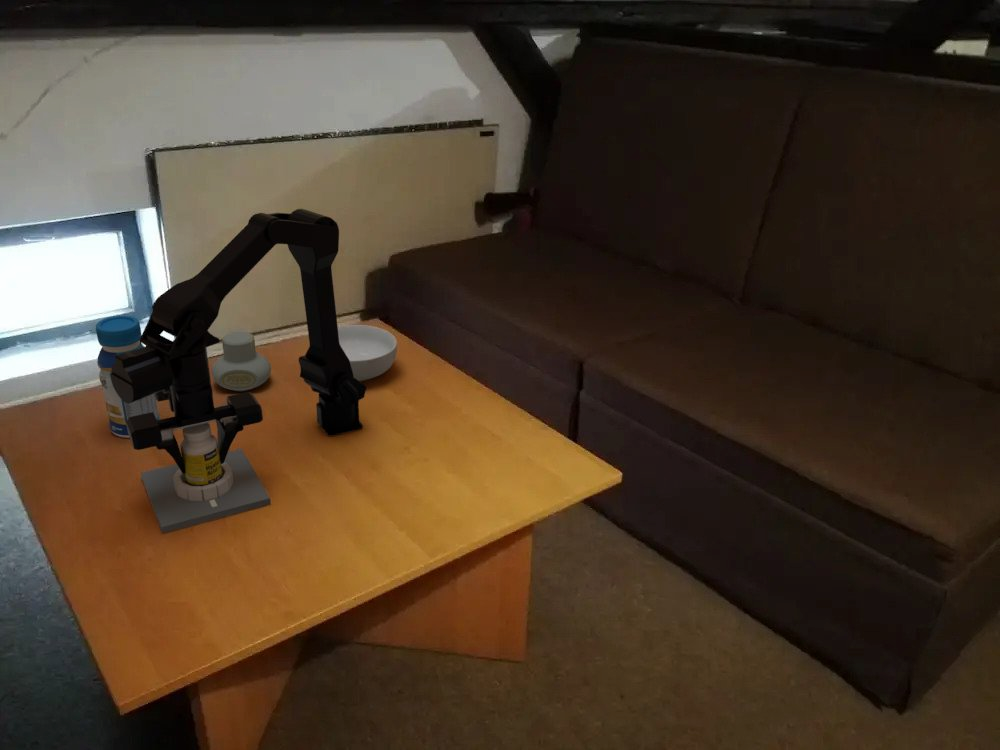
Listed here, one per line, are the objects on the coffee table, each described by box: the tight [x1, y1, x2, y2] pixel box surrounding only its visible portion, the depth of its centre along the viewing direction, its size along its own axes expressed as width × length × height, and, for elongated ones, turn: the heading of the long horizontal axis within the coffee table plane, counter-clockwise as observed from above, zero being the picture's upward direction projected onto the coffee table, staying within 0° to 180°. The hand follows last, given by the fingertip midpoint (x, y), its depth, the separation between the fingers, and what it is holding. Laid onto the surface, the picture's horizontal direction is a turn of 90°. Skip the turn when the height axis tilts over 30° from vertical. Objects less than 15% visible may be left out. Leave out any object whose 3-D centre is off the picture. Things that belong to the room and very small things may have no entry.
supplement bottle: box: [179, 423, 223, 486], centre depth 133 cm, size 5×5×10 cm
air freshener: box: [211, 330, 272, 392], centre depth 166 cm, size 11×8×10 cm
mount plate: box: [140, 448, 272, 535], centre depth 135 cm, size 16×16×3 cm
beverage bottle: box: [95, 315, 161, 439], centre depth 148 cm, size 8×8×20 cm
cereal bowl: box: [337, 324, 398, 382], centre depth 172 cm, size 17×17×7 cm
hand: (202, 467), depth 134 cm, fingers closed on supplement bottle, 5 cm apart
